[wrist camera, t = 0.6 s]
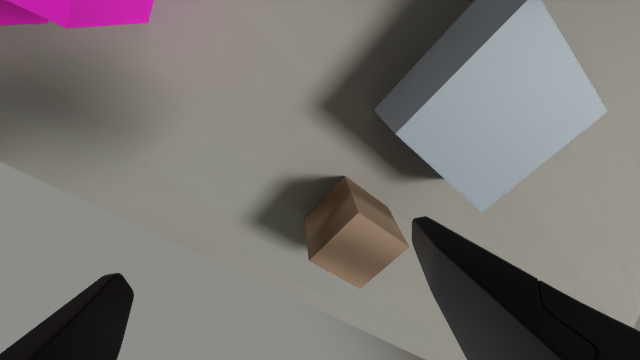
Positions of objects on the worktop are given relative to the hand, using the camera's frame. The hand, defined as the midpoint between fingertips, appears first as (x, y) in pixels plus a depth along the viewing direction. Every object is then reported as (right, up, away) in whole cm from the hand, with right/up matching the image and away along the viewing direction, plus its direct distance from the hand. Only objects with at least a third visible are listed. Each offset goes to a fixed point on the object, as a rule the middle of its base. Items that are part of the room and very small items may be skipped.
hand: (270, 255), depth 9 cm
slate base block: (+12, +8, +12) cm, 19 cm away
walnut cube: (+4, 0, +16) cm, 16 cm away
